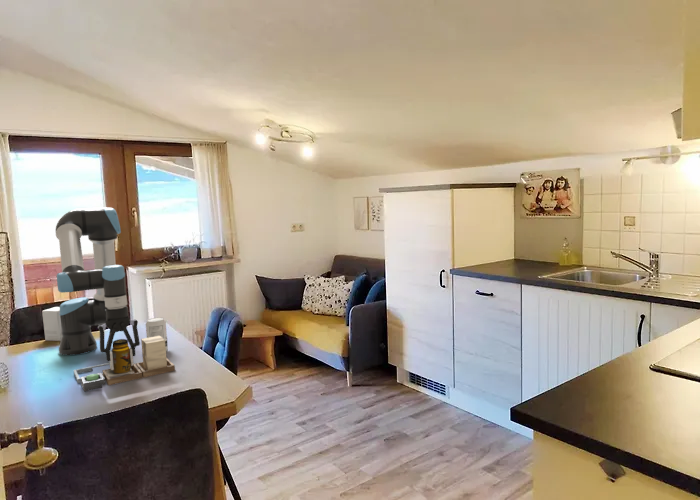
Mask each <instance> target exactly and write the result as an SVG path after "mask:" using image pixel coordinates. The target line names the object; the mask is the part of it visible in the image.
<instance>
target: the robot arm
mask: <svg viewBox="0 0 700 500" xmlns="http://www.w3.org/2000/svg"><path fill="white" fill-rule="evenodd" d="M116 210H117V209H115V208H113V207H93V208H75V209H72V210H70V211H68V212H65V214H63V215H62V216H61V218H60V219H59V220H58V221H57V223H56V225H55V236H56V239H57V240H58V242H59V252H60V254H59V255H60V264H61V272H58V273H56V284H57V291H58V292H59V293H60V294H61V293H73V292H74V293H75V292H84V291H90V290H96V293H95V294H94V295H93V299H89V298H88V297H87V296H86V297H85V296H84V297H78V298H77V297H76V298H73V299H68V300H66V301H64V302H62V303H61V304H60V305H59V307H60V314H59V315H60V319H61V330H62V338H61V341H59V342H60V344H59V346H58V353H59V355H61V356H77V355H82V354H87V353H90V352H93V351H95V350H96V349H97V348H98V345H97V341H96V338H95V337H94V335H93V333H92V329H91V327H92V326H93V327H94V326H97V329H98V331H99V351H100V352H101V353H105V359H106V361H107V362H109V363H110V364H109V369H110V368H111V370H114V366H113V356H112V346H113V341H114V337H115V335H116V333H118V332H123V334H124V335H125V336H124V337H125V339H126V340H128V345H129V349H130V350H129V351H130V365H131V366H133V364H134V357H135V356H136V347H138V346H140V345H141V342H140V336H139V332H138V330H139V329H138V323H139V322H138V320H137V319H130V317H129V308H128V306H127V305H128V299H127V287H126V285H127V284H126V272H125V266H123V265H121V264H116V250H115V248H116V247H115V241H116V240H117V239H118V235H120V234H121V233H122V231H121V225H120V220H119V216H118V213H117V211H116ZM84 236H87V237H88V240H89V241H90V242H91V243H92V248H93V250H92V252H93V261H94V269H88V270H85V266H84V258H83V252H82V251H83V250H82V242H81V237H84ZM129 324H130V325H131V328H132V331H133V332H132V333H133V339H134V342H133V339H132V337H131V335H130V333H129V330H128V326H129ZM106 328H108V329H109V334H108V339H107V342H106V347H105V331H106Z"/></svg>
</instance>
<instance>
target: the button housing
mask: <svg viewBox="0 0 700 500" xmlns="http://www.w3.org/2000/svg"><path fill="white" fill-rule="evenodd" d="M97 374H98V375H99V379H96V380H92V381H87V378H86V377H87V376H88V375H84V376H81V377H80V378H81V385H80V386H81V387H82V390H83V391H84V392H89V391H93V390H98V389H103V386H102V385H106V381H105V378H104V376H103V375H102V374H103V372H98V373H97Z"/></svg>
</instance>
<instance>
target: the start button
mask: <svg viewBox="0 0 700 500" xmlns="http://www.w3.org/2000/svg"><path fill="white" fill-rule="evenodd" d="M86 376H87V377H86V378H87V381H92V380H96V379H99V375H98V373H91V374H88V375H86Z"/></svg>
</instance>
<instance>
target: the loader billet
mask: <svg viewBox="0 0 700 500" xmlns="http://www.w3.org/2000/svg"><path fill="white" fill-rule="evenodd" d="M140 341H141V342H140V344H141V351H142V352H141V353H142V362H143V367H144V369H145V371H148V370H152V369H157V368H162V367H166V366H167V359H168V358H167V352H166V346H165V340H164V339H163V338H162V337H161V336H154V337H149V338H147V337H144V338H141V339H140ZM166 358H167V359H166Z"/></svg>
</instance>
